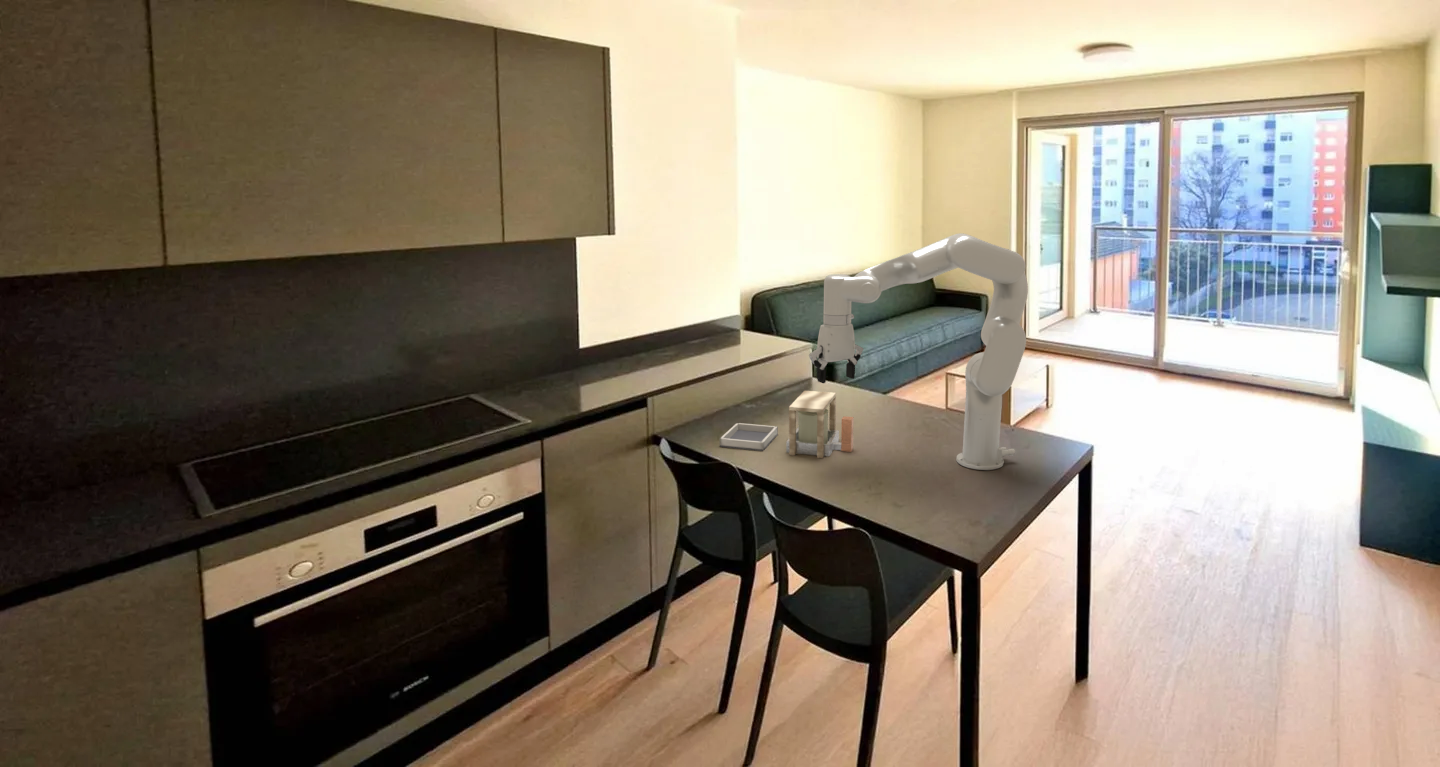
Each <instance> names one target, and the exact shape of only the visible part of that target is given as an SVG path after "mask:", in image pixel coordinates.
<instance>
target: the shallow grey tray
mask: <svg viewBox="0 0 1440 767" xmlns="http://www.w3.org/2000/svg"><path fill="white" fill-rule="evenodd" d="M840 432H841V437H840ZM840 438H841V440H840ZM798 440H799V426H797V427H796V454H801V455H810V456H817V443H812V442H801V441H798ZM785 442H786V443H785V445H786V448H785V449H786V453H789V438H787V440H786V441H785ZM853 449H854V417H853V416H847V415H846V416H843V417H842V418H841V430H838V429H835V430H829V429H828V442H827V444H824V457H830V456H831V454H832V453H833V450H834V451H841V452H847V453H848V452H849V453H851V452H853Z"/></svg>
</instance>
